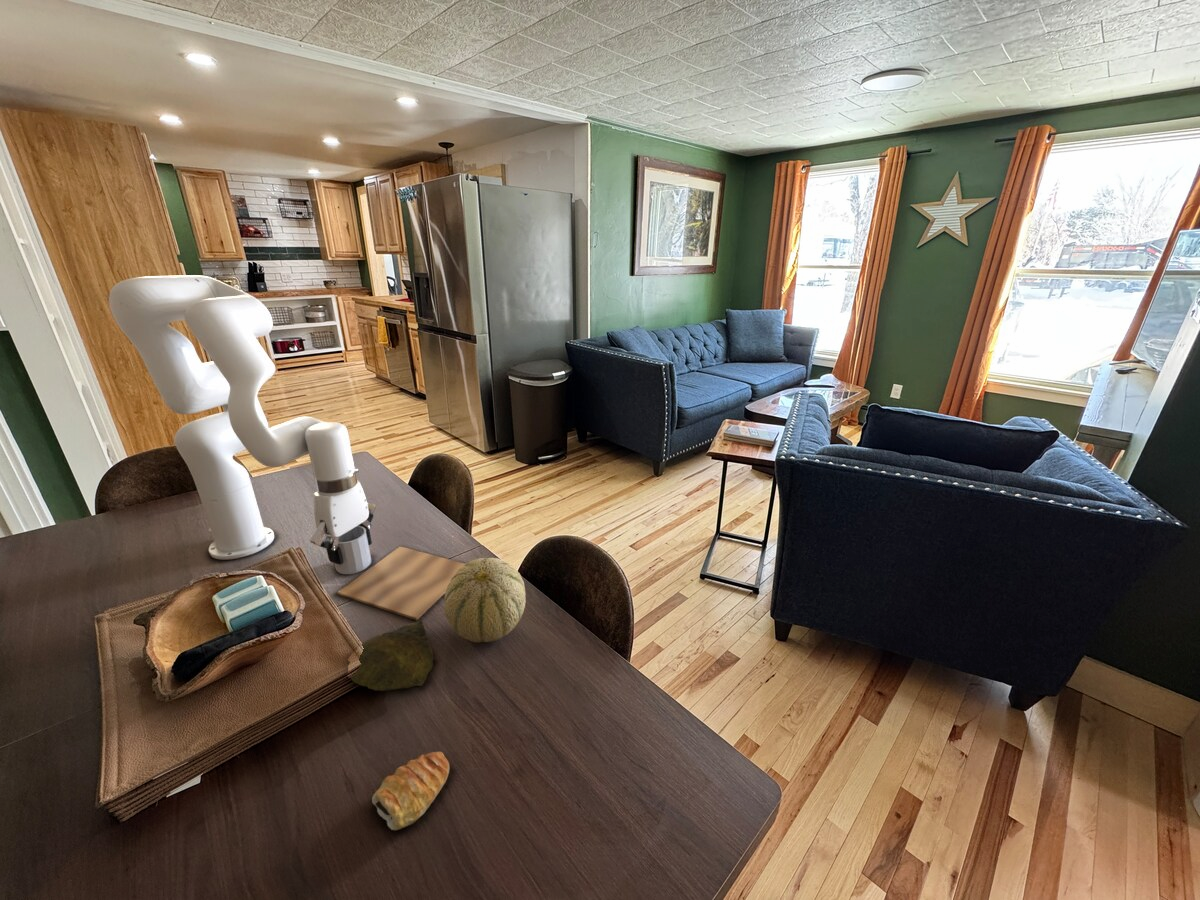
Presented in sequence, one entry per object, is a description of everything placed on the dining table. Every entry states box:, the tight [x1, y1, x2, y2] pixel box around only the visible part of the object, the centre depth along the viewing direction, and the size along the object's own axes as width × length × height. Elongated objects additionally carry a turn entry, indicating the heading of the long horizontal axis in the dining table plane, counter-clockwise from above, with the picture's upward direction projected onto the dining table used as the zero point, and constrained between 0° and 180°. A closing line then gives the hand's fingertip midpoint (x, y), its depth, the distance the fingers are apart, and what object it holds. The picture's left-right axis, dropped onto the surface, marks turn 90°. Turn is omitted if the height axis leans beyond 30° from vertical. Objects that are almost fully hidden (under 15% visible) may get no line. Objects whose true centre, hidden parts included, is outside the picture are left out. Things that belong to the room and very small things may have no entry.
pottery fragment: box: [350, 619, 435, 692], centre depth 80 cm, size 13×14×4 cm
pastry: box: [371, 751, 450, 831], centre depth 61 cm, size 9×7×4 cm
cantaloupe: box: [443, 557, 527, 643], centre depth 86 cm, size 15×15×15 cm
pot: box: [330, 526, 373, 575], centre depth 105 cm, size 7×7×8 cm
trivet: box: [337, 545, 466, 621], centre depth 101 cm, size 20×18×1 cm
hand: (351, 552), depth 105 cm, fingers closed on pot, 7 cm apart
